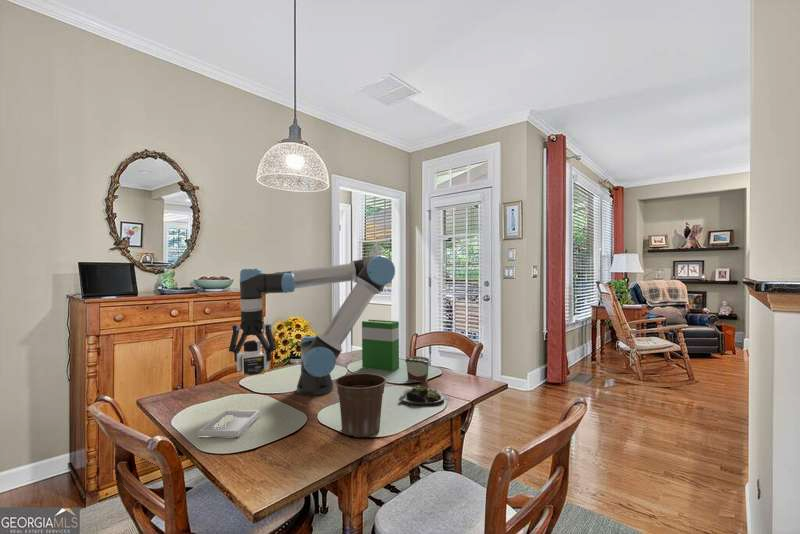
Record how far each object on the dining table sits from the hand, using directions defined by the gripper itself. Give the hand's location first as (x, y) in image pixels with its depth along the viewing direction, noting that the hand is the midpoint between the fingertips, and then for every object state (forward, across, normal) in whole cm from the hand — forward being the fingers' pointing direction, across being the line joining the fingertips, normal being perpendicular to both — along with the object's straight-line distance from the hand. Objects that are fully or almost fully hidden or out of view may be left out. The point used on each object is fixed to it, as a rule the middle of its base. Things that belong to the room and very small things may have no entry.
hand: (253, 370), depth 140 cm
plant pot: (+15, -42, +17) cm, 48 cm away
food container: (+16, -62, -36) cm, 74 cm away
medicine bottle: (+1, 0, 0) cm, 1 cm away
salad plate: (+16, -62, -11) cm, 65 cm away
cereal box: (+15, -42, -56) cm, 72 cm away
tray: (+14, +1, +16) cm, 21 cm away
